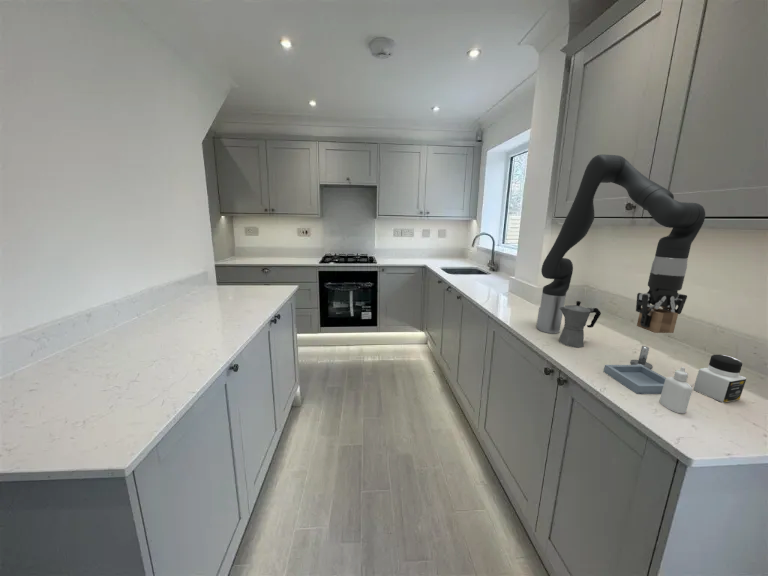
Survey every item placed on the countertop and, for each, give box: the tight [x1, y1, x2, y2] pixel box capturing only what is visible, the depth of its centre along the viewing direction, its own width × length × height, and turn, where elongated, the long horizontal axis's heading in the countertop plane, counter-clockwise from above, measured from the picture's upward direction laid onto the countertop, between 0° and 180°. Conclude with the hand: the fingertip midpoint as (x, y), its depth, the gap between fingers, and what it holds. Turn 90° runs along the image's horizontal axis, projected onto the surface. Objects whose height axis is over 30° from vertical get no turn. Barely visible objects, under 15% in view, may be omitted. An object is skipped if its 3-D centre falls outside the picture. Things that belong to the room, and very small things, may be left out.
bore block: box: [636, 307, 679, 334], centre depth 92 cm, size 6×6×6 cm
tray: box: [603, 364, 667, 395], centre depth 95 cm, size 13×13×3 cm
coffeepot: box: [558, 300, 602, 349], centre depth 122 cm, size 15×9×18 cm, turn 82°
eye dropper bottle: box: [659, 366, 693, 414], centre depth 81 cm, size 4×6×12 cm
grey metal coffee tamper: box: [629, 345, 653, 370], centre depth 105 cm, size 6×6×7 cm
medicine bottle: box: [692, 354, 747, 404], centre depth 88 cm, size 7×7×12 cm
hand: (654, 326), depth 92 cm, fingers closed on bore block, 6 cm apart
